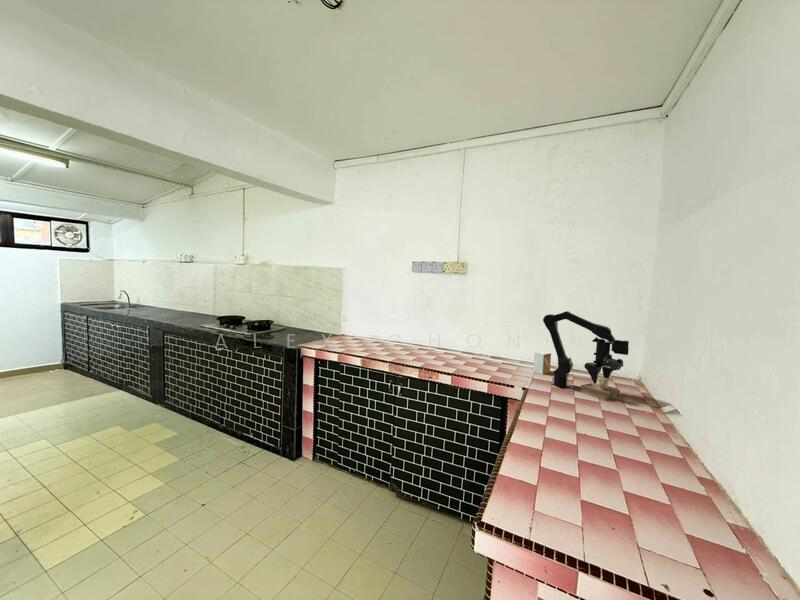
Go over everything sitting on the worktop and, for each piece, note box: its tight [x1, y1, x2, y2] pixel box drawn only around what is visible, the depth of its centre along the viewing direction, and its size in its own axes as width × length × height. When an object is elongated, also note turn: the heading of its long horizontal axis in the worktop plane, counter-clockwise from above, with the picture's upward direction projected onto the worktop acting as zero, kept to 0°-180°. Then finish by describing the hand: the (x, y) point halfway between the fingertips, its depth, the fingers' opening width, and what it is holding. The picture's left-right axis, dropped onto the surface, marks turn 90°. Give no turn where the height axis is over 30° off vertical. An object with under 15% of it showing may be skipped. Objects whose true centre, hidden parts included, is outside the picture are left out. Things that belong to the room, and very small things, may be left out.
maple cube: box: [591, 375, 610, 390], centre depth 153 cm, size 5×5×5 cm
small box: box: [532, 350, 552, 375], centre depth 186 cm, size 8×6×13 cm
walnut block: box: [579, 382, 621, 401], centre depth 153 cm, size 12×12×4 cm
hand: (600, 382), depth 153 cm, fingers open, 9 cm apart
